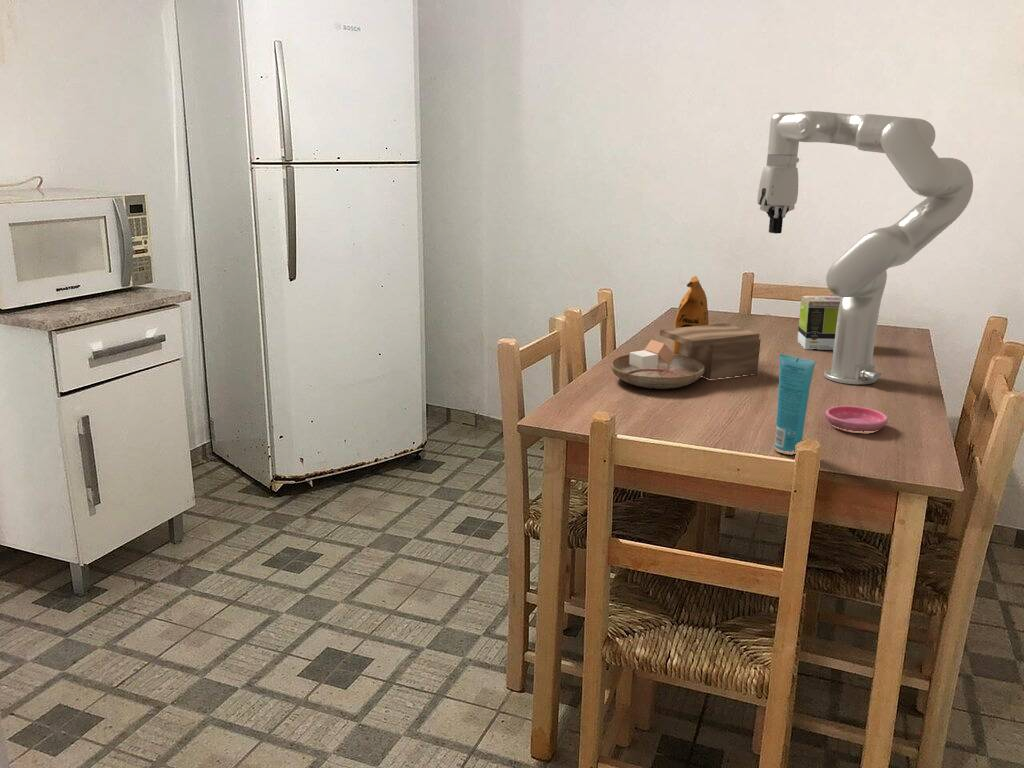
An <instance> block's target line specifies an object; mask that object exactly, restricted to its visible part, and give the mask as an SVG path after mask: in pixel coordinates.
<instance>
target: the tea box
mask: <svg viewBox="0 0 1024 768" xmlns="http://www.w3.org/2000/svg"><path fill="white" fill-rule="evenodd" d="M840 301H841V297H838V296H836V295H835V296H834V295H801V298H800V307H799V321H798V328H797V329H798V330H797V343H798V344H799V343H800V344H801V345H800V344H799V345H800V346H801V347H802V346H803V347H802V348H803V349H804V350H813V349H817V350H820V351H824V350H825V351H827V350H828V351H833V350H834V341H835V333H836V325H837V317H838V310H839V304H840Z"/></svg>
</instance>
